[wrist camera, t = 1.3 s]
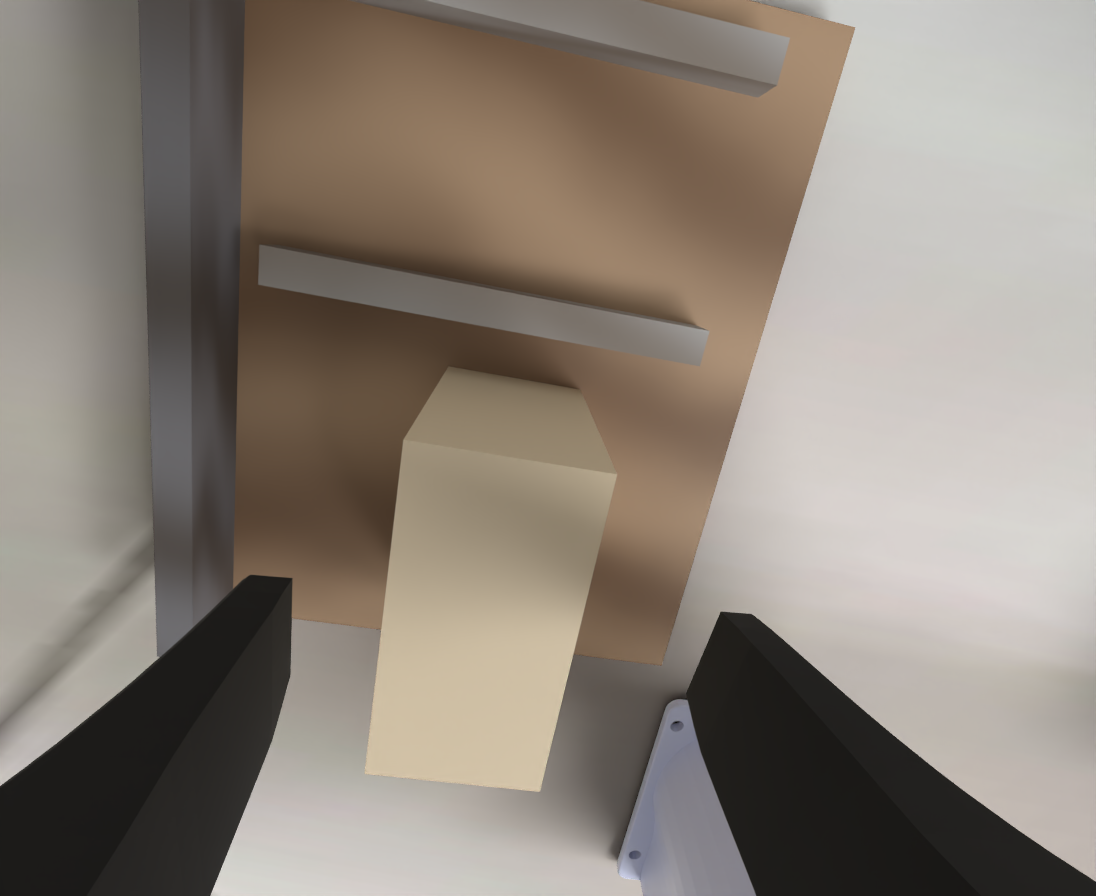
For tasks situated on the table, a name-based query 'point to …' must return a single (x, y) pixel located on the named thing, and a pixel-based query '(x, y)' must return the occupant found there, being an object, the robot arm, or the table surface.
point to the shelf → (456, 266)
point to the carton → (486, 580)
